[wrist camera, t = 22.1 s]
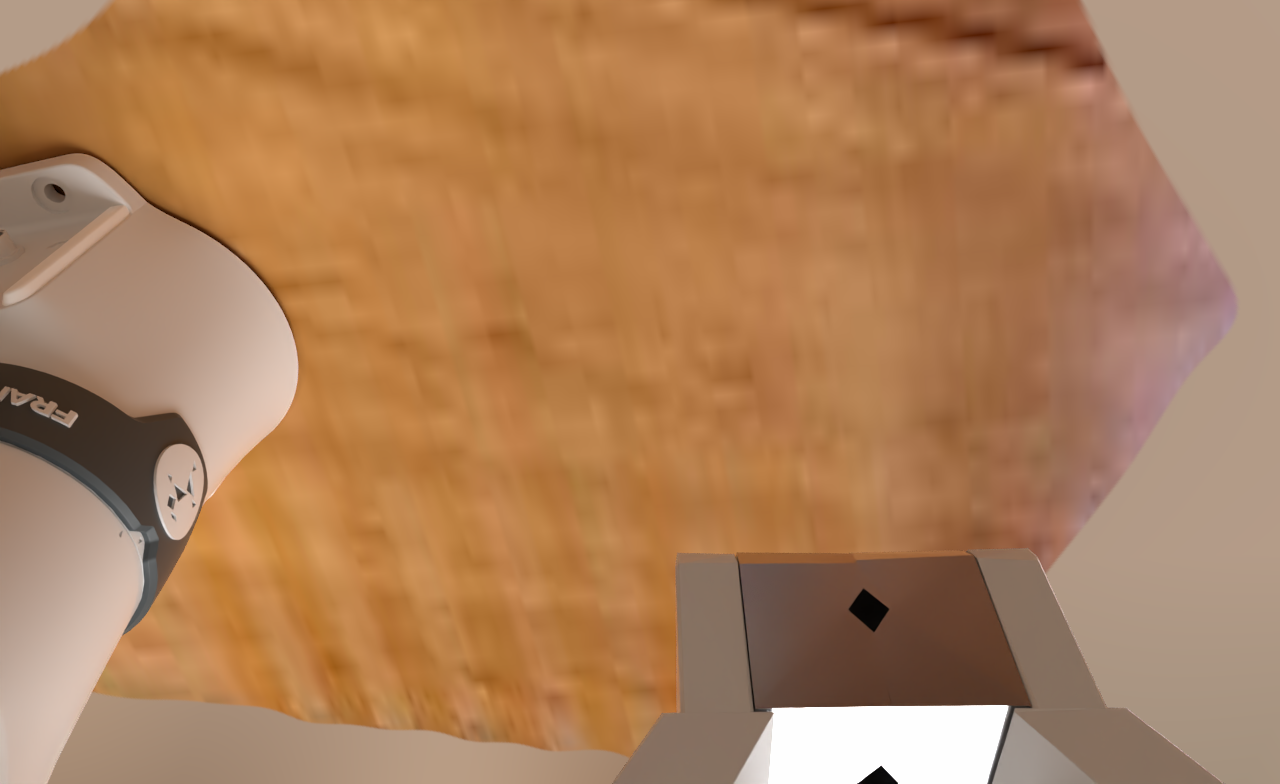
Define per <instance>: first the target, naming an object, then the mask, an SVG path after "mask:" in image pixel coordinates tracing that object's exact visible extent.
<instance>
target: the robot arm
mask: <svg viewBox="0 0 1280 784" xmlns="http://www.w3.org/2000/svg"><path fill="white" fill-rule="evenodd" d="M52 184H56V185H58V186H59V187H61V188H62V189H63V191H64V192H65V196H64V195H61V194H59V193H58V192H56V190H55V189H54V188H53V185H52ZM297 380H298V357H297V350H296V346H295V341H294V338H293V335H292V332H291V329H290V327H289V324H288V322H287V320H286V317H285V315H284V313H283V311H282V310H281V308H280V306H279V304H278V303H277V301H276V300H275V298H274V297H273V295H272V294H271V292H270V291H269V290H268V288H267V287H266V286H265V284H264V283H263V282H262V281H261V280H260V279H259V278H258V276H257V275H256V274H255V273H254V272H253V271H252V270H251V269H250V268H249V267H248V266H247V265H246V264H245V263H244V262H243V261H241V260H240V259H239V258H238V257H237V256H236V255H234V254H233V253H232V252H231V251H229V250H228V249H227V248H225V247H224V246H223V245H221V244H220V243H218V242H217V241H216V240H214V239H212V238H211V237H209V236H208V235H206V234H204V233H203V232H201V231H199V230H197V229H196V228H194V227H192V226H190V225H188V224H186V223H184V222H182V221H180V220H178V219H176V218H173V217H171V216H169V215H167V214H166V213H164V212H162V211H160V210H159V209H157V208H155V207H154V206H152V205H151V204H149V203H148V202H146V201H145V200H144V199H143V198H142V197H141V196H140V195H139V194H138V193H137V192H136V191H135V190H134V189H133V188H132V187H131V186H130V185H129V184H128V183H127V182H126V181H125V180H124V179H123V178H121V177H120V176H119V175H118V174H117V173H116V172H115V171H114V170H112V169H111V168H110V167H108V166H107V165H106V164H104V163H103V162H101V161H100V160H98V159H96V158H94V157H92V156H90V155H86V154H81V153H73V154H67V155H63V156H58V157H54V158H50V159H45V160H41V161H37V162H32V163H28V164H24V165H19V166H15V167H11V168H6V169H2V170H0V784H47V783H48V781H49V778H50V776H51V773H52V771H53V769H54V766H55V764H56V762H57V759H58V758H59V756H60V754H61V752H62V750H63V747H64V746H65V744H66V742H67V740H68V738H69V736H70V734H71V732H72V730H73V728H74V726H75V724H76V722H77V720H78V718H79V716H80V714H81V712H82V710H83V708H84V706H85V704H86V702H87V700H88V699H89V697H90V695H91V693H92V691H93V689H94V687H95V685H96V683H97V681H98V679H99V677H100V675H101V674H102V672H103V670H104V668H105V666H106V664H107V662H108V660H109V658H110V657H111V655H112V653H113V651H114V649H115V647H116V645H117V643H118V642H119V640H120V638H121V636H122V635H124V634H125V633H127V632H128V631H130V630H131V629H132V628H133V627H135V626H136V625H137V624H138V623H139V622H140V621H141V620H142V618H143V617H144V616H145V615H146V613H147V612H148V610H149V609H150V607H151V606H152V604H153V602H154V601H155V599H156V597H157V596H158V594H159V592H160V591H161V589H162V587H163V586H164V584H165V582H166V581H167V579H168V577H169V575H170V574H171V572H172V570H173V568H174V567H175V565H176V563H177V561H178V559H179V558H180V556H181V554H182V552H183V550H184V548H185V546H186V544H187V542H188V540H189V537H190V535H191V533H192V531H193V528H194V526H195V524H196V521H197V519H198V516H199V513H200V511H201V508H202V506H203V504H204V503H205V502H206V501H207V499H209V498H210V497H211V496H212V495H213V494H214V492H215V491H216V490H217V488H218V487H219V486H220V485H221V483H222V482H223V480H224V479H225V477H226V476H227V475H228V474H229V473H230V472H231V470H232V469H233V468H234V467H235V466H236V465H237V464H238V463H239V462H240V461H241V459H242V458H243V457H244V456H245V455H246V454H247V453H248V452H249V451H250V450H251V449H253V448H254V447H255V446H256V445H257V444H258V443H259V442H260V441H261V440H262V439H264V438H265V437H266V436H267V435H268V434H269V433H270V432H272V431H273V430H274V429H275V427H276V426H277V425H278V424H279V423H280V422H281V420H282V419H283V418H284V416H285V415H286V413H287V411H288V409H289V407H290V405H291V403H292V401H293V398H294V395H295V391H296V387H297ZM676 698H677V713H662V714H661V715H660V717H659V718H658V720H657V721H656V722H655V724H654V725H653V727H652V728H651V729H650V731H649V732H648V734H647V735H646V736H645V738H644V739H643V741H642V742H641V743H640V745H639V746H638V748H637V749H636V750H635V752H634V753H633V755H632V756H631V757H630V759H629V760H628V762H627V763H626V764H625V766H624V767H623V769H622V770H621V771H620V773H619V774H618V776H617V777H616V779H615V780H614V781H613V783H612V784H1224V783H1223V782H1222V781H1221V780H1219V779H1218V778H1217V777H1215V776H1214V775H1213V774H1211V773H1210V772H1209V771H1208V770H1206V769H1205V768H1204V767H1202V766H1201V765H1200V764H1199V763H1197V762H1196V761H1195V760H1193V759H1192V758H1190V756H1188V755H1187V754H1186V753H1184V752H1183V751H1182V750H1180V749H1179V748H1178V747H1177V746H1175V745H1174V744H1173V743H1171V742H1170V741H1169V740H1168V739H1166V738H1165V737H1164V736H1162V735H1161V734H1160V733H1159V732H1157V731H1156V730H1154V729H1153V728H1152V727H1151V726H1149V725H1148V724H1147V723H1146V722H1144V721H1143V720H1142V719H1140V718H1139V717H1138V716H1137V715H1135V714H1134V713H1133V712H1131V711H1130V710H1129V709H1127V708H1108V707H1107V706H1106V704H1105V702H1104V700H1103V697H1102V695H1101V693H1100V691H1099V689H1098V687H1097V684H1096V682H1095V680H1094V678H1093V676H1092V674H1091V671H1090V669H1089V667H1088V665H1087V663H1086V661H1085V659H1084V656H1083V654H1082V652H1081V650H1080V648H1079V646H1078V643H1077V641H1076V639H1075V637H1074V635H1073V633H1072V630H1071V628H1070V626H1069V624H1068V622H1067V620H1066V617H1065V615H1064V613H1063V611H1062V609H1061V607H1060V604H1059V602H1058V600H1057V598H1056V596H1055V594H1054V592H1053V589H1052V587H1051V585H1050V583H1049V581H1048V579H1047V576H1046V574H1045V572H1044V570H1043V568H1042V566H1041V563H1040V561H1039V559H1038V557H1037V556H1036V555H1035V554H1034V553H1032V552H1031V551H1030V550H1029V549H1028V548H1018V549H980V550H967V551H966V552H965V551H963V550H947V551H906V552H864V553H849V554H836V553H736V557H735V555H734V554H700V553H677V558H676Z"/></svg>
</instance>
